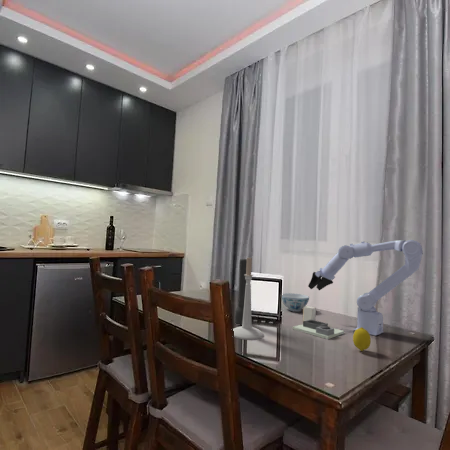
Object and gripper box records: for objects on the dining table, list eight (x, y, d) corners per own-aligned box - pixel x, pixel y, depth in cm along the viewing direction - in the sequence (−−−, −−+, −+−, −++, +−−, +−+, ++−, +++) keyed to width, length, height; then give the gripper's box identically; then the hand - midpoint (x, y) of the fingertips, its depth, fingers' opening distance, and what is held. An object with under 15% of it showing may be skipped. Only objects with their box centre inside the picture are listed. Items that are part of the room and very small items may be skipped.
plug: (315, 323, 141) (315, 307, 141) (311, 324, 139) (311, 308, 139) (305, 320, 145) (305, 305, 145) (301, 321, 142) (302, 306, 143)
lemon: (355, 347, 109) (356, 324, 110) (372, 351, 106) (372, 327, 106) (350, 351, 105) (351, 327, 105) (367, 355, 102) (368, 330, 102)
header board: (344, 333, 126) (344, 325, 126) (327, 339, 118) (327, 330, 118) (310, 324, 138) (310, 316, 138) (292, 329, 129) (292, 320, 130)
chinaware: (312, 309, 170) (312, 295, 170) (303, 314, 157) (304, 299, 158) (286, 305, 178) (286, 292, 178) (276, 310, 165) (276, 295, 165)
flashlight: (250, 326, 131) (250, 322, 138) (252, 260, 133) (253, 259, 140) (234, 325, 132) (235, 321, 139) (236, 259, 133) (237, 258, 140)
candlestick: (265, 332, 124) (267, 256, 126) (260, 341, 112) (263, 258, 113) (234, 328, 127) (237, 255, 129) (226, 337, 115) (229, 256, 117)
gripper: (334, 263, 148) (315, 283, 152) (319, 259, 138) (300, 280, 143) (344, 273, 144) (325, 293, 148) (330, 269, 134) (310, 292, 138)
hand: (313, 288), depth 145 cm, fingers open, 7 cm apart
